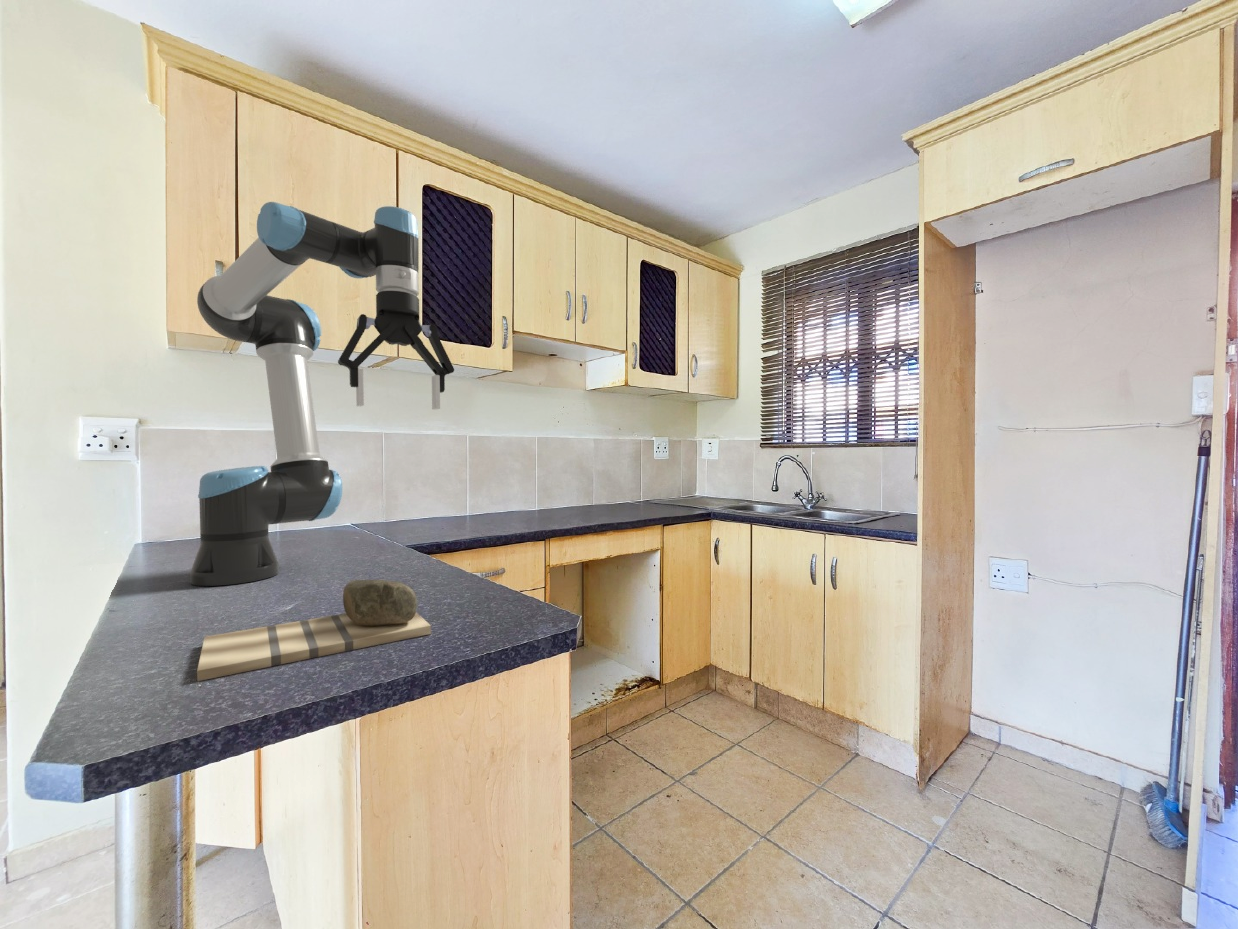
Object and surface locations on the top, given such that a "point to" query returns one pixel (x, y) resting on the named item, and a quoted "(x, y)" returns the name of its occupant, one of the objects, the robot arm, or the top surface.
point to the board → (296, 643)
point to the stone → (379, 602)
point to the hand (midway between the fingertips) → (399, 407)
